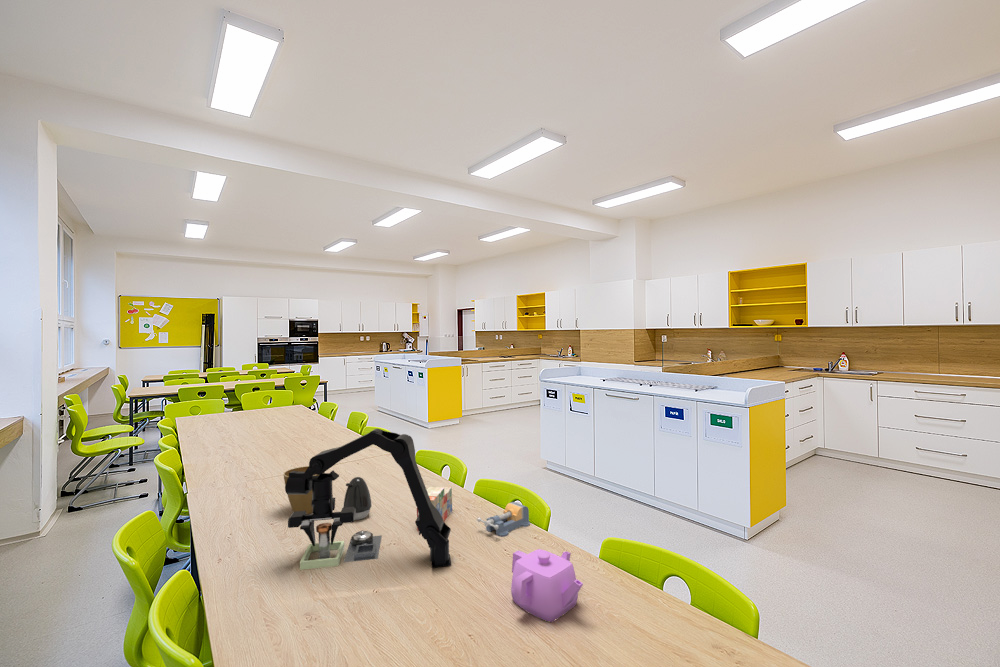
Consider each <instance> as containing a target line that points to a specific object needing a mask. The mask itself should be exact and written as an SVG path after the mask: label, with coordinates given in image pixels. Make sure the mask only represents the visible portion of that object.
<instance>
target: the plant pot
mask: <svg viewBox="0 0 1000 667" xmlns="http://www.w3.org/2000/svg"><path fill="white" fill-rule="evenodd" d="M308 467H309V465H307V466H306V465H305V466H299V467H294V468H290V469H288V470H286V471H284V472H283V480H284V486H285V485H286V482H287V479H288V477H289V473H290V472H292V471H298V472H305V471H306V470H307V468H308ZM324 473H326V471H325V472H324ZM319 475H320V474H319ZM319 475H317V474H315V475H313V476H319ZM286 494H287V493H286ZM287 498H288V502H289V505H290V507H291V509H292V513H293V512H297V511H306V515H308V514H313V507H312V506H311V503H312V490H311V491H309V493H308V494H287Z"/></svg>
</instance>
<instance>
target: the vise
mask: <svg viewBox="0 0 1000 667" xmlns="http://www.w3.org/2000/svg"><path fill="white" fill-rule="evenodd" d="M529 514H530V511H529V508H528V507H527V506H525V505H523V504H520V503H518V502H515V501H512V502H509V503H507V504H506V506H505V508H504V510H503V513H502V514H500V515H497V514H496V515H493V516H490V517H488V518H486V520H483V519H482V518H481V517H479V516H478V517H477V518H476V521H477V522H478V523H481V522H482V523H483V525H484V526H485V530H486V531H487V532H489V533H491V532H493V531H495V535H496V536H498V537H500V538H501V537H504V538H505V537H508V536H509V532H511V531H514V530H516V529H518V528H521V527H520V526H522V528H524V527H525V528H526V527H529V526H530V525H531V523H530V522H531V521H529V520H530V519H529V518H530V517H529V516H530V515H529Z"/></svg>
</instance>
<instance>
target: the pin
mask: <svg viewBox="0 0 1000 667" xmlns="http://www.w3.org/2000/svg"><path fill="white" fill-rule="evenodd" d="M332 524H333V523H331V522H322V523H319V524H318V525H316V531H315V532H316V533H318V543H319V551H318V559H327V558H331V550H330V542H331V530H332Z"/></svg>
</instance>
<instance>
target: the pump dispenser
mask: <svg viewBox="0 0 1000 667" xmlns="http://www.w3.org/2000/svg"><path fill="white" fill-rule="evenodd" d="M345 486H346V491H345V495H344V499H343V506H342V508H345V507H354V508H355V509H356V516H355V518H354V521H359V520H362V519H365V518H366V517H367V516H368V515H369V513H370V512H371V509H372V498H371V493H370V490H369V486H368V484H367V483H366V480H364V478H363V477H361V476H355V477H353V478H351V480H350V481H349V482H347V483H345Z"/></svg>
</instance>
